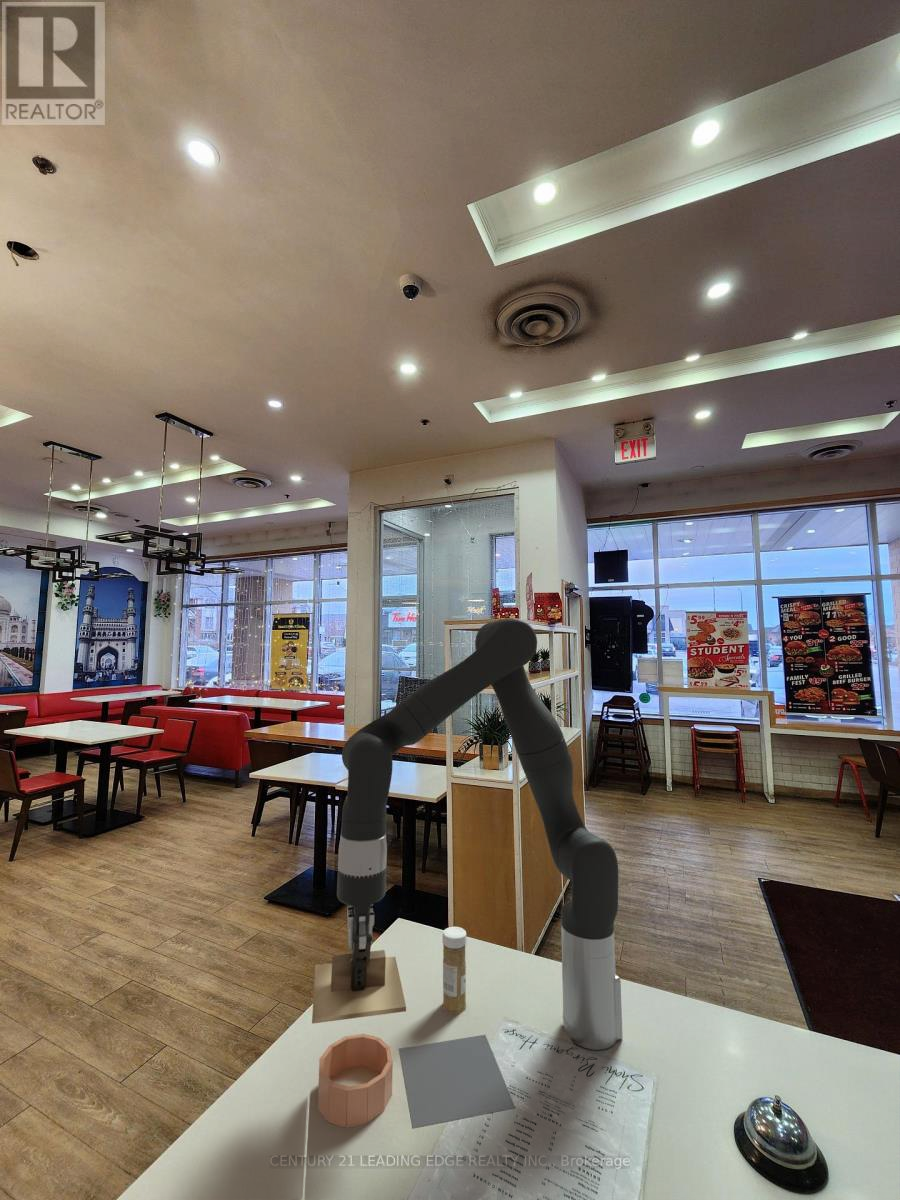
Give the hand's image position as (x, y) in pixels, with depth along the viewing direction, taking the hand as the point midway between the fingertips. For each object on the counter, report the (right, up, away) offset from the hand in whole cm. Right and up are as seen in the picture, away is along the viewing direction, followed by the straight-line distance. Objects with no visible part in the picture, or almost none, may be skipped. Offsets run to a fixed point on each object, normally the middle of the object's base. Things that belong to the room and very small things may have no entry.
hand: (357, 984), depth 78 cm
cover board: (0, -1, 0) cm, 1 cm away
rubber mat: (+15, -16, +1) cm, 22 cm away
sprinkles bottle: (+15, -18, +18) cm, 29 cm away
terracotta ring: (0, -15, -2) cm, 16 cm away
